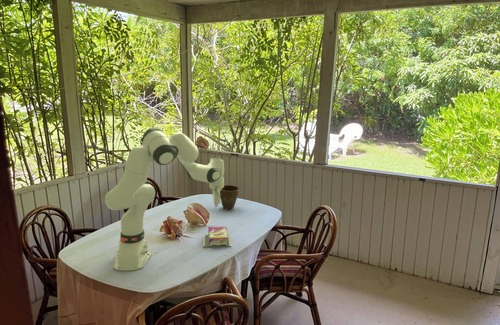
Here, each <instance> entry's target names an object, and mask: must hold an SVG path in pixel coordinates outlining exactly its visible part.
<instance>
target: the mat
mask: <svg viewBox="0 0 500 325" xmlns="http://www.w3.org/2000/svg"><path fill="white" fill-rule="evenodd" d="M227 234H228V245H214V246H209V237H208V234H202V235H203V236H202V237H203V238H202V239H203V240H202V247H203V248H231V247H232V243H231V237H230V234H229V233H227Z"/></svg>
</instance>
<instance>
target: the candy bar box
mask: <svg viewBox="0 0 500 325" xmlns="http://www.w3.org/2000/svg"><path fill="white" fill-rule="evenodd" d="M207 230H208V232H207V235H208V237H209V246H214V245H228V234H229V233H228V231H227V226H208V229H207Z"/></svg>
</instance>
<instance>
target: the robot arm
mask: <svg viewBox="0 0 500 325" xmlns="http://www.w3.org/2000/svg"><path fill="white" fill-rule="evenodd" d="M139 142H140V145H137V146H134V147H132V148H131V150H130V151H129V153H128V156H127V159H126V162H125V168H124V172H123V175H122V177H121V179H120V180H119V182H118V183H117V184H116V186H114V187H113V188H112V189H111V190H108V191H107V193H106V194H105V196H104V202H105V205H106V207H107V208H108V209H109V210H111V211H122V210H126V209H128V210H127V211H126V212H125V213H123V215H121V218H120V235H119V236H120V238H119V241H118V250H117V252H116V253H115V254H114V263H113V269H114V270H115V271H123V272H124V271H137V270H140V269H143V268H144V266H145V265H146V263H148V261H149V260H150V258H151V257H152V252H150V251H149V246H148V244H149V243H148V240H147V239H146V238H145V229H144V216H145V213H146V210H147V208H148V206H149V205H150V204H151V202H152V201H153V200H155V196H156V190H155V189H154V187H153V186H152V185H151V184H150V183H146V181H147V180H148V176H149V175H148V174H149V172H150V168H151V167H150V166H151V163H152V162H153V161H155V163H156V164H157V165H159V166H165V165H169V164H171V163H172V162H173V161H174V160H175V159H176V158H177V160H178V161H179V163H180V164H181V166H182V167H183V169H185V171H186V173H187V176H188V179H190V180H192V181H198V182H203V183H207V184H208V188H210V190H211V191H212V197H213V199H212V200H213V204H214V207H216V208H217V207H219V206H218V205H220V204H221V199H220V190H222V188H223V187H224V185H225V177H224V174H225V163H224V159H223V158H220V157H210V160H209V163H207V165H206V164H200V163H198V162H195V161H196V160H197V159H198V157H199V152H200V151H199V148H198V146H197V145H196V144H195V143H194V142H193V140H192V139H191V138H190V137H188V136H187V135H186V134H184V133H183V132H174V133H172V134H171V135H170V136H169V137H168V136H167V135H166V134H165V132H164V131H163V130H162V129H160V128H158V127H155V126H154V127H150V128H148V129H146V131H145V132H144V133H143V135H142V138H141V139H140V141H139Z"/></svg>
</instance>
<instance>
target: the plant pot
mask: <svg viewBox="0 0 500 325" xmlns="http://www.w3.org/2000/svg"><path fill="white" fill-rule="evenodd" d="M239 190H240V188H239V186H236V185H230V184H224V187H223V188H222V190H220V204H221V205H222V208H223V210H225V209H226V211H231V209H232V210H234V208H235V205H236V203H237V199H238V196H239Z"/></svg>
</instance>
